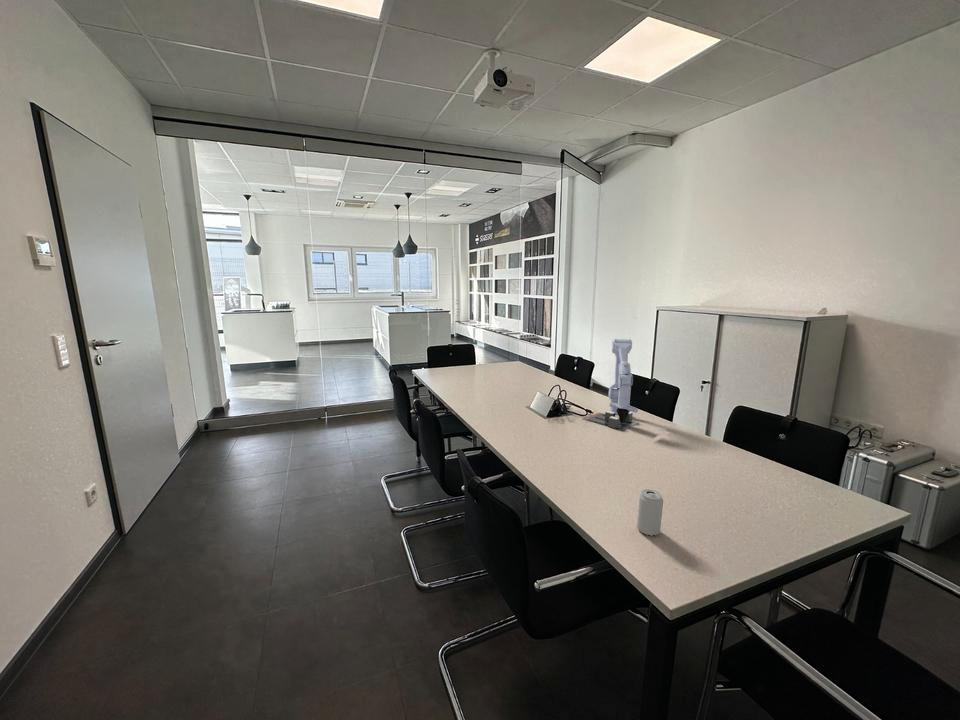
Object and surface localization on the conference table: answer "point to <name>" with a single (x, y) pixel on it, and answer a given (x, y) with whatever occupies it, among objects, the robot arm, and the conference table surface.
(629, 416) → the breaker
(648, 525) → the beverage can
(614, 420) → the block
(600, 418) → the panel
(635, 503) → the conference table surface
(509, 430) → the conference table surface
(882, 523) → the conference table surface
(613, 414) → the breaker
